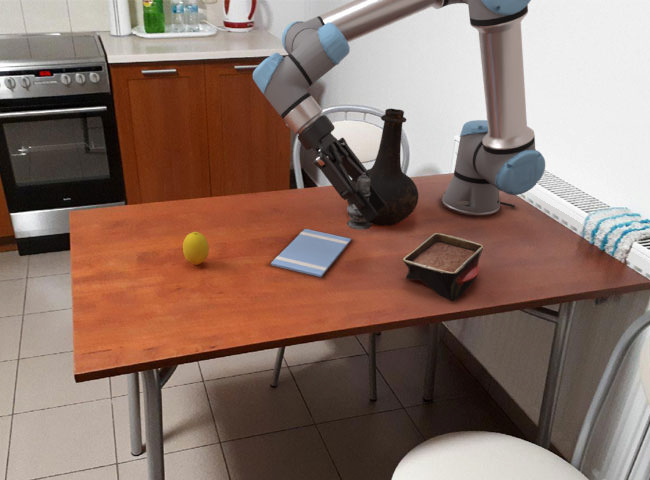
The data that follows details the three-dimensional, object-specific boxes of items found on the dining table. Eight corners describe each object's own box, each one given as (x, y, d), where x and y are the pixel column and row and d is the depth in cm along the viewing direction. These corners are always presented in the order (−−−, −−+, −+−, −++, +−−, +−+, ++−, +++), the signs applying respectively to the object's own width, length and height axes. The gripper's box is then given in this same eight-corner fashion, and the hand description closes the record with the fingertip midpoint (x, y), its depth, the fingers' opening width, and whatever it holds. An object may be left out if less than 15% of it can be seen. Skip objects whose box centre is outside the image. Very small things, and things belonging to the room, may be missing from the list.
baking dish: (390, 289, 138) (395, 252, 131) (433, 251, 148) (440, 215, 141) (449, 319, 131) (457, 281, 124) (490, 277, 141) (500, 240, 134)
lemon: (198, 256, 143) (197, 224, 139) (214, 265, 140) (213, 232, 136) (178, 264, 140) (176, 231, 136) (194, 273, 137) (192, 239, 132)
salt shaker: (371, 231, 135) (377, 178, 129) (343, 228, 136) (348, 175, 130) (373, 220, 140) (379, 168, 134) (347, 217, 141) (352, 165, 135)
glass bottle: (336, 207, 170) (345, 100, 155) (398, 203, 174) (413, 98, 159) (357, 236, 155) (369, 121, 141) (425, 231, 159) (444, 119, 144)
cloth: (270, 265, 141) (270, 262, 141) (304, 230, 157) (305, 228, 156) (321, 277, 137) (321, 274, 137) (351, 240, 153) (351, 238, 153)
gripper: (313, 124, 141) (376, 207, 145) (279, 147, 127) (350, 238, 130) (337, 103, 137) (402, 189, 140) (305, 124, 122) (378, 220, 126)
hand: (377, 213), depth 135 cm, fingers closed on salt shaker, 5 cm apart
